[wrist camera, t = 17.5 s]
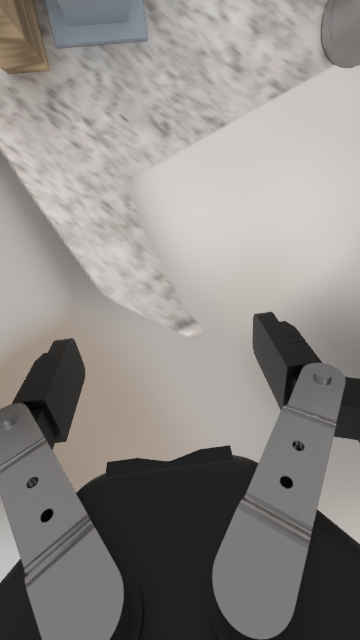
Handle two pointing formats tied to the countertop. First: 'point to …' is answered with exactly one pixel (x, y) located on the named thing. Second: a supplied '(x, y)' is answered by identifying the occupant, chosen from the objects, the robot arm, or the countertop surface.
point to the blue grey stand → (96, 22)
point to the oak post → (20, 38)
